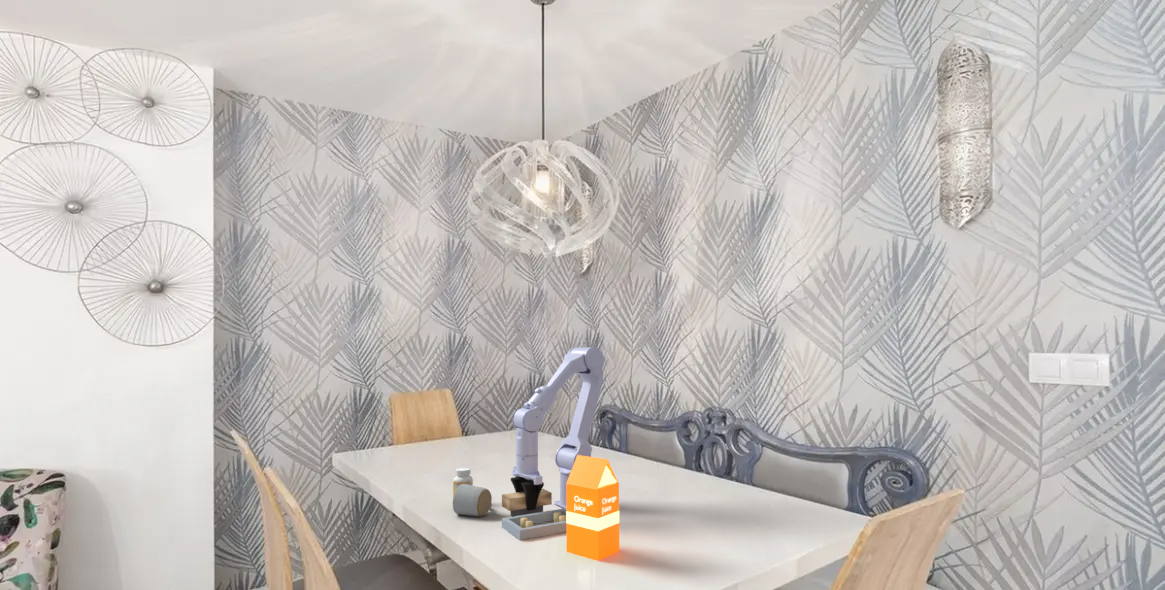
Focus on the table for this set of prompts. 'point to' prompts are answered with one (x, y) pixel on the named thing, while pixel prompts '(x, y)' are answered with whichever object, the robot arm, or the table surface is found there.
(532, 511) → the gray rectangular block
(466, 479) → the supplement bottle
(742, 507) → the table surface
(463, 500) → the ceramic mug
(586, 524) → the orange juice
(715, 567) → the table surface
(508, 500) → the tan rectangular block
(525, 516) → the peg frame
